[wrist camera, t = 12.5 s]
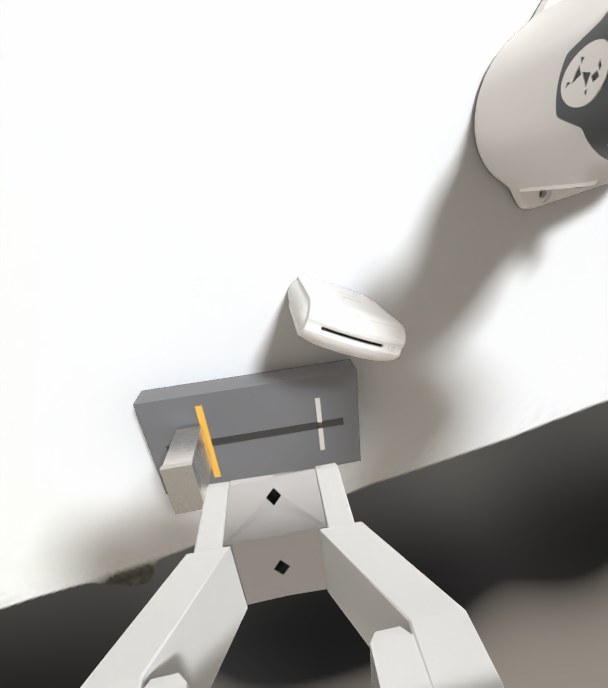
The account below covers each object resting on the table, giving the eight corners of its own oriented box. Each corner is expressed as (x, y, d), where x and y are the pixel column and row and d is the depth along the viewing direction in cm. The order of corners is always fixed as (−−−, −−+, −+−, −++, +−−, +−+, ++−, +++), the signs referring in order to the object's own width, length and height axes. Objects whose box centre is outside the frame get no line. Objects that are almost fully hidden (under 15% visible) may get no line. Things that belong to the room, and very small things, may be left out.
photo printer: (376, 296, 39) (422, 333, 28) (362, 328, 41) (401, 377, 29) (294, 269, 37) (309, 299, 26) (282, 305, 38) (291, 348, 27)
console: (350, 359, 42) (356, 370, 39) (354, 445, 48) (360, 461, 45) (141, 390, 40) (132, 405, 37) (172, 476, 46) (166, 494, 43)
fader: (202, 424, 39) (191, 464, 33) (213, 464, 42) (205, 508, 36) (174, 428, 39) (159, 470, 33) (187, 468, 42) (175, 513, 36)
